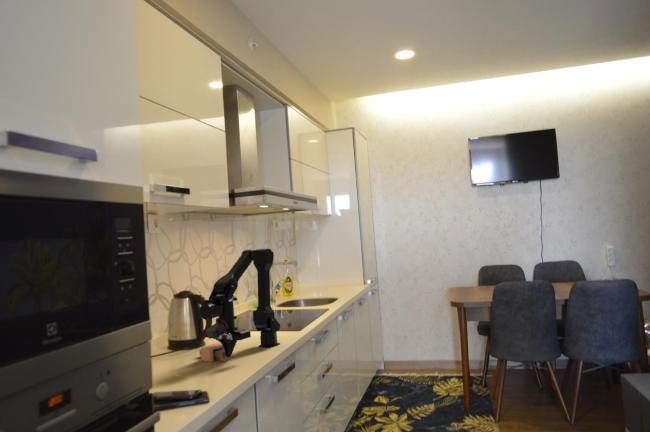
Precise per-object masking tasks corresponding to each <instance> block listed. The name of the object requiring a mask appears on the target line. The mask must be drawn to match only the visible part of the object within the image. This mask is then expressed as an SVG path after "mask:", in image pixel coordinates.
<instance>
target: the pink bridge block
mask: <svg viewBox="0 0 650 432" xmlns="http://www.w3.org/2000/svg"><path fill="white" fill-rule="evenodd" d="M214 349H219V350H224V348H223V346H222V344H221V343H220V342H214V343H212V344H208V345H204V346H203V347H200V350H201V356H200V357H201V361H203V362H213V361H215V360H214V357H213V350H214Z"/></svg>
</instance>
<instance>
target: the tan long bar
mask: <svg viewBox="0 0 650 432" xmlns="http://www.w3.org/2000/svg"><path fill="white" fill-rule="evenodd" d="M198 351H199V352H198V353H199V356H200V357H202V356H201V349H199V350H198ZM213 357H214V361H220V362H226V361H228V360H231V357H227V355H226V352H225V350H219V349H214V350H213Z"/></svg>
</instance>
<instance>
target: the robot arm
mask: <svg viewBox="0 0 650 432" xmlns="http://www.w3.org/2000/svg"><path fill="white" fill-rule="evenodd" d="M274 258H275V253H274V251H272V249H271V248H259V249H258V248H257V249H245V250H243V251H242V252H241V255H240V256H239V257H238V258H237V260H236V262H235V263H234V264H233V265H232V266H231V268H230V269H229V271H228V272H227V273H226V274H225V275H223V276H221V277H219V278H218V279H217V280H216V282H214V284H213V288H212V290H211V293H210V294H209V297H208V299H205V300H204V299H203V300H202V304H201V305H200V307H199V315H200V318H201V319H203V320H205V321H207V320H211V319H214V318H216V319H215V323H214V324H212V325H211V326H209V327H208V328H207V329H205V332H204V335H205V338H208V339H213V340H215V341H217V342H218V343H221V344H222V346H223V348H224V350H225V352H226V355H227V357H230V358H231V357H232V355H233V352H234V349H235V347H236V345H237V342H238V341H243V340H245V339H248V338H251V337H252V336H251V335H252V334H251V331H250V330H249V329H245V328H241V329H238V327H237V326H236V325H235V324H236V322H235V320H237V317H238V316H237V315H235V307H234V301H235V302H236V301H238V298H237V297H236V296H235V295H234V294H235V292H236V291H237V289H238V287H239V286H238V285H239V281H240V279H241V277H242V276H243V274H244V273H245V271H246V270H247V269H248V268H249V267H250V265H251V264H252V263H253V266H254V267H255V270H256V271H257V273H256V274H257V307H256V309H255V310H253V311H252V316H253V318H252V321H253V324H254V326H255V329H256V332H259V333H260V337H259V338H260V339H259V340H260V344H259V345H258V347H259V348H269V349H270V348H273V347H277V346H279V345H281V343H280V342H278V335H277V332H279V331H280V330H281V324H280V322H279V321H278V320H277V319H276V316H275V311H274V310H273V307H272V306H271V281H270V280H271V277H270V275H271V274H270V271H271V268H272V267H273V264H274Z"/></svg>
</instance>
